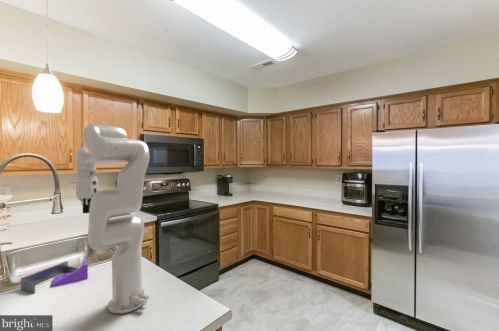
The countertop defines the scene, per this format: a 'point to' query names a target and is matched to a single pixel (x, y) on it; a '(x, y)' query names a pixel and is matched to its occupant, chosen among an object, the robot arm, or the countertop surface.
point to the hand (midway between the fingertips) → (87, 212)
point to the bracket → (72, 276)
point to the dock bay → (44, 276)
